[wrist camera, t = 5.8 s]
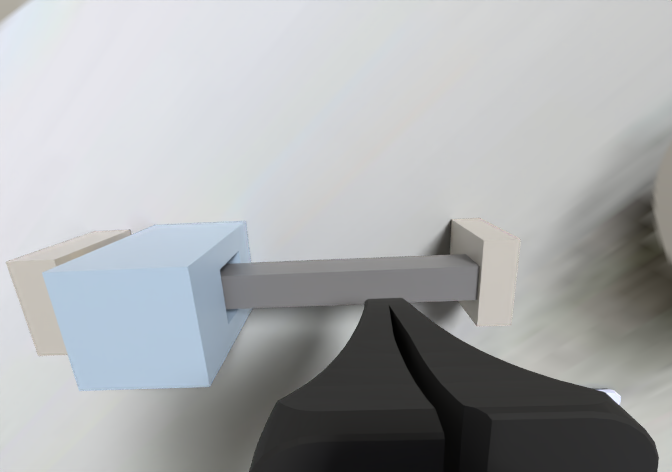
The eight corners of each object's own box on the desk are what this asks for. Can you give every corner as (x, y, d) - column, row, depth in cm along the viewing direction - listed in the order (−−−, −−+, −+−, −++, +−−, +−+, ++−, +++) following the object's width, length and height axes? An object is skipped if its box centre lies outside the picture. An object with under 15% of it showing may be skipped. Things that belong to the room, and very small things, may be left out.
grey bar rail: (480, 214, 17) (534, 240, 12) (474, 290, 18) (521, 341, 13) (92, 231, 18) (0, 262, 13) (111, 304, 19) (33, 357, 14)
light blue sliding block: (245, 220, 17) (187, 266, 11) (256, 301, 19) (209, 387, 12) (154, 225, 17) (41, 272, 11) (170, 305, 19) (79, 390, 12)
